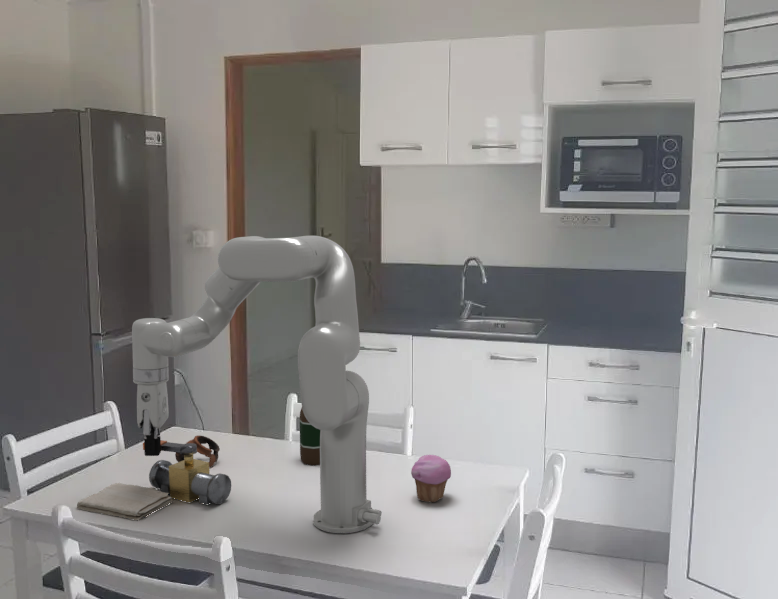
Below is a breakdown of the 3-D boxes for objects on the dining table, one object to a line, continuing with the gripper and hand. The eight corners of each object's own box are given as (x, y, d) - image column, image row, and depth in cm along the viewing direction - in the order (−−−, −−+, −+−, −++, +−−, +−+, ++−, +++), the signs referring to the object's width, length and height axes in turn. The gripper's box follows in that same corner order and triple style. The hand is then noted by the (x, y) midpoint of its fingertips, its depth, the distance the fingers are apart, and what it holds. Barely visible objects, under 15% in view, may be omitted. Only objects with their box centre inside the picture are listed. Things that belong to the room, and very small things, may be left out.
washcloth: (140, 524, 160) (139, 510, 159) (74, 511, 166) (73, 498, 166) (176, 503, 170) (176, 490, 170) (112, 492, 177) (112, 479, 177)
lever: (191, 455, 170) (190, 448, 170) (142, 450, 174) (142, 443, 174) (200, 450, 173) (199, 444, 173) (151, 445, 177) (151, 438, 177)
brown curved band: (191, 458, 201) (206, 432, 201) (214, 479, 197) (230, 453, 196) (159, 460, 191) (175, 432, 190) (183, 482, 187) (200, 454, 186)
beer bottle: (329, 465, 193) (327, 372, 191) (298, 465, 194) (296, 372, 191) (331, 455, 201) (330, 366, 198) (302, 455, 201) (300, 366, 198)
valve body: (231, 499, 171) (230, 456, 170) (211, 509, 166) (210, 465, 165) (170, 484, 181) (169, 443, 180) (149, 492, 176) (147, 450, 175)
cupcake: (425, 489, 177) (425, 447, 176) (458, 497, 172) (458, 454, 171) (404, 501, 170) (404, 457, 169) (437, 510, 165) (437, 465, 164)
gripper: (160, 382, 162) (162, 466, 164) (175, 367, 177) (176, 444, 179) (124, 382, 161) (126, 466, 164) (142, 367, 176) (144, 444, 179)
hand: (152, 454), depth 171 cm, fingers closed
